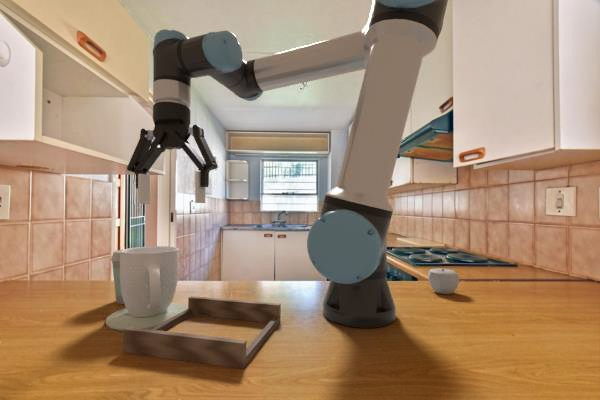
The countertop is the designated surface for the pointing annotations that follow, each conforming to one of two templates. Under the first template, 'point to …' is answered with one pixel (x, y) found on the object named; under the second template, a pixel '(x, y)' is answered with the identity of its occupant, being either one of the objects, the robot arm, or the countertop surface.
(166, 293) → the mug
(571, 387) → the countertop surface
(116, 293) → the coffee cup
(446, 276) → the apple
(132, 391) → the countertop surface
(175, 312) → the trivet
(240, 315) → the frame
